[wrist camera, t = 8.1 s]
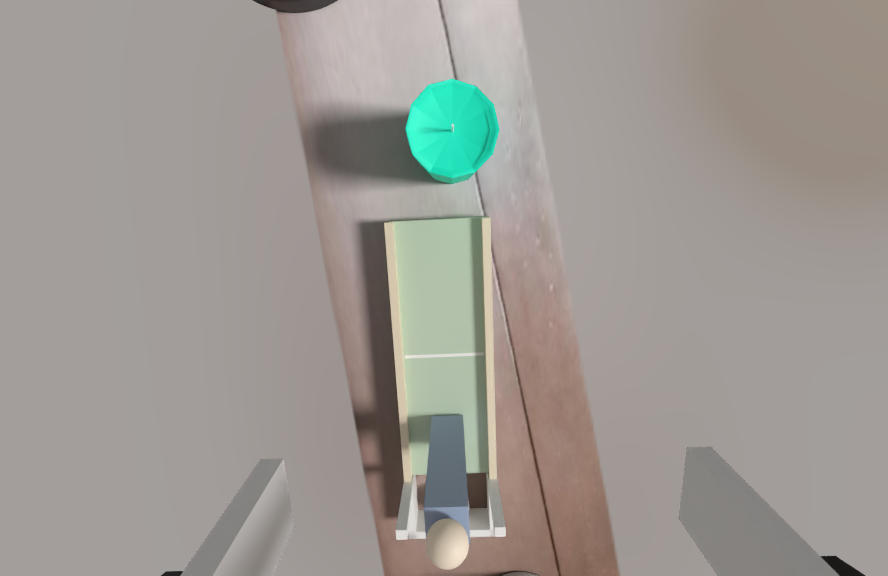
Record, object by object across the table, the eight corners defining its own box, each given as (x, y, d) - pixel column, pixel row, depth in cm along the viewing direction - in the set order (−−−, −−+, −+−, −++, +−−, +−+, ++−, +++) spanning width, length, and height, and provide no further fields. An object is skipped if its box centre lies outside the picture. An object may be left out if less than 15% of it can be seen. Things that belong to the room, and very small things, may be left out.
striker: (431, 416, 39) (420, 541, 25) (462, 415, 39) (470, 540, 25) (433, 444, 40) (423, 582, 26) (464, 443, 40) (472, 581, 25)
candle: (404, 136, 36) (384, 105, 25) (464, 99, 36) (471, 50, 24) (439, 196, 37) (434, 195, 26) (497, 162, 37) (520, 144, 25)
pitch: (389, 221, 38) (384, 222, 35) (487, 216, 38) (490, 217, 35) (407, 462, 43) (404, 482, 40) (493, 460, 43) (496, 479, 40)
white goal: (406, 462, 43) (395, 530, 34) (494, 460, 43) (505, 527, 34) (410, 516, 44) (401, 594, 36) (495, 513, 44) (506, 592, 35)
